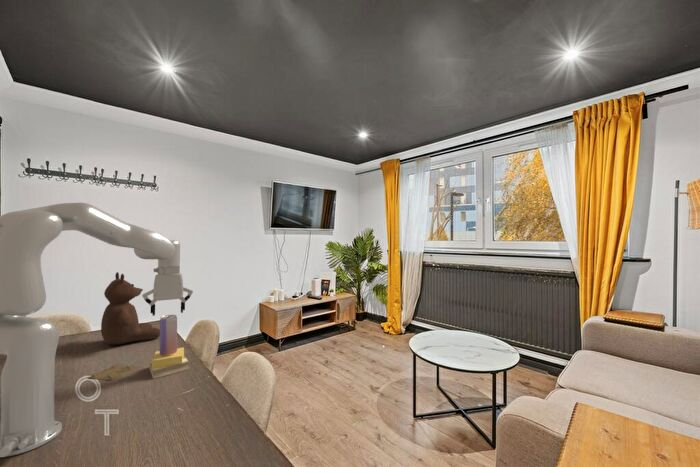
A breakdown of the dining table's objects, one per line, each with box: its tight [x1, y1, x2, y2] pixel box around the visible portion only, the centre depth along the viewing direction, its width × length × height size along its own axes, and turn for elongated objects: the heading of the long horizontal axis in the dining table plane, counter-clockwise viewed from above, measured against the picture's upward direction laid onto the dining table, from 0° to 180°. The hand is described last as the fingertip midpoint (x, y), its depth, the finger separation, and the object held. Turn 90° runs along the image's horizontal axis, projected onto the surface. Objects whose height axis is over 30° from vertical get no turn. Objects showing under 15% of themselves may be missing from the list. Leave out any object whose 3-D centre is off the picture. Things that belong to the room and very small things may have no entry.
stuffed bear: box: [100, 271, 160, 346], centre depth 152 cm, size 29×23×35 cm
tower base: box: [148, 355, 190, 380], centre depth 119 cm, size 12×12×3 cm
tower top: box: [151, 347, 185, 368], centre depth 119 cm, size 10×10×3 cm
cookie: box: [87, 363, 141, 382], centre depth 116 cm, size 12×12×1 cm
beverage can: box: [159, 314, 178, 356], centre depth 119 cm, size 6×6×15 cm
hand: (168, 313), depth 119 cm, fingers open, 9 cm apart
